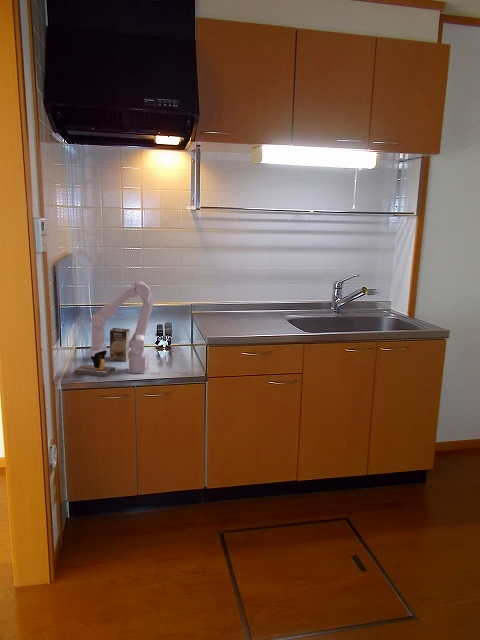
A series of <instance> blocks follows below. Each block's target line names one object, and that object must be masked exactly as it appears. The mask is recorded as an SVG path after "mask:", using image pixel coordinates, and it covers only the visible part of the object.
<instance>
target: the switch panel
mask: <svg viewBox="0 0 480 640" xmlns="http://www.w3.org/2000/svg"><path fill="white" fill-rule="evenodd" d="M91 365H92V364H87V365H86V364H81V365H80V366H78V367H76V368H75V369H74V374H76V375H86V376H92V377H93V376H94V377H95V376H96V377H105V378H107V377H108V376H109V375H111V374H112V373H113V372H114V370H113V368H111V367H112V366H107V367H105V368H104V369H103V370H98V369H94V366H91Z"/></svg>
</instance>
